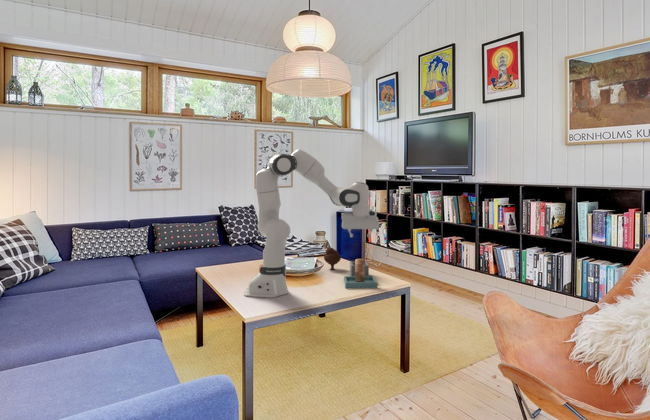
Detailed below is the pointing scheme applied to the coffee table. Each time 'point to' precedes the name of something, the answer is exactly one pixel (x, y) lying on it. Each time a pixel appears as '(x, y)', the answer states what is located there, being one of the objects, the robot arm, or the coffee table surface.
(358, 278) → the peg
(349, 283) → the tray
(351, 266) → the grey open square box
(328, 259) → the ice cream bowl
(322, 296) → the coffee table surface
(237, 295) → the coffee table surface
